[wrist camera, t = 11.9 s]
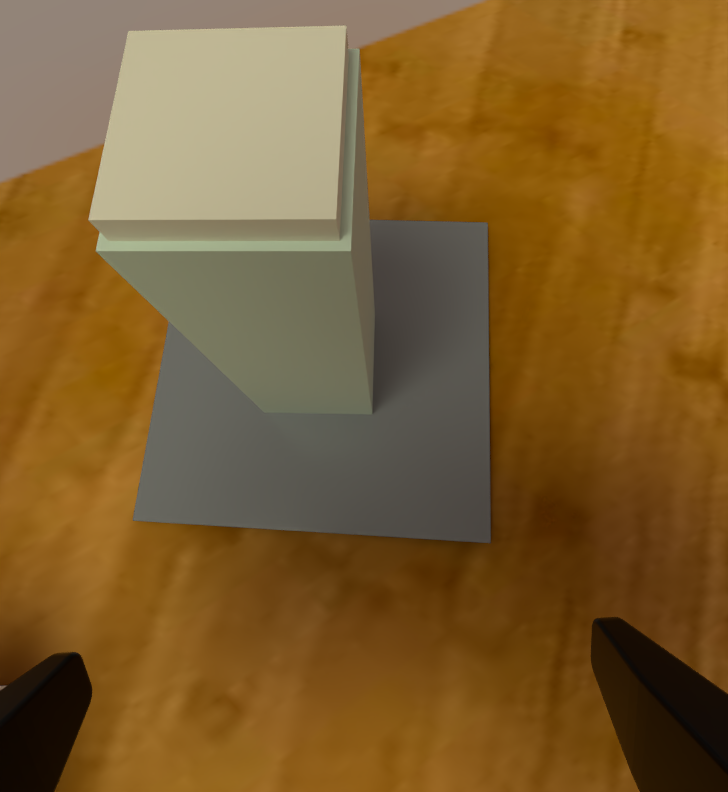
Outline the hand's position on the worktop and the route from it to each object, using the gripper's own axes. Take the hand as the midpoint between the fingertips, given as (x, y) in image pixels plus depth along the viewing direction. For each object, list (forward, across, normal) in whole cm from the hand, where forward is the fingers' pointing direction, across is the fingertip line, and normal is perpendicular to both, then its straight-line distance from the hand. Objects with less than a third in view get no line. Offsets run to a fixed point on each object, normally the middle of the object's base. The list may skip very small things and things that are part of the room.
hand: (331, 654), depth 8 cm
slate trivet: (+14, +1, -2) cm, 14 cm away
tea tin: (+13, +1, -2) cm, 14 cm away
